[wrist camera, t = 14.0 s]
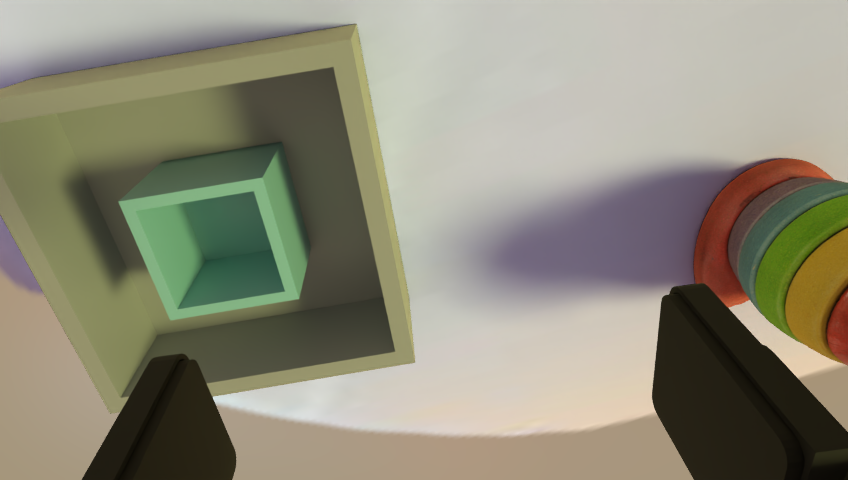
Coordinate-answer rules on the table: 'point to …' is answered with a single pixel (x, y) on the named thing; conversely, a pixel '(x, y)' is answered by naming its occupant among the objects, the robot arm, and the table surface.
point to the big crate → (191, 136)
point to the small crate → (220, 230)
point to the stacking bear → (782, 251)
